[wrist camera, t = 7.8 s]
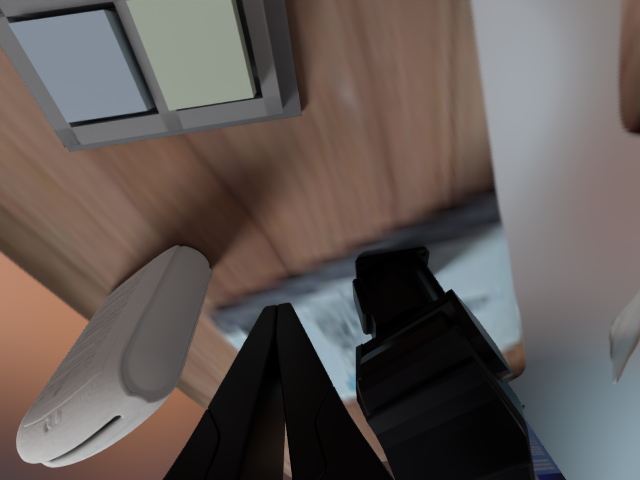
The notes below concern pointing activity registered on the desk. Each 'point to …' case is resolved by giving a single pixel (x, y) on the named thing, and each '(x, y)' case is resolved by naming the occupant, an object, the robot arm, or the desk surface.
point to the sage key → (195, 50)
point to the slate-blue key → (86, 64)
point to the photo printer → (119, 362)
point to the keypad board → (265, 60)
